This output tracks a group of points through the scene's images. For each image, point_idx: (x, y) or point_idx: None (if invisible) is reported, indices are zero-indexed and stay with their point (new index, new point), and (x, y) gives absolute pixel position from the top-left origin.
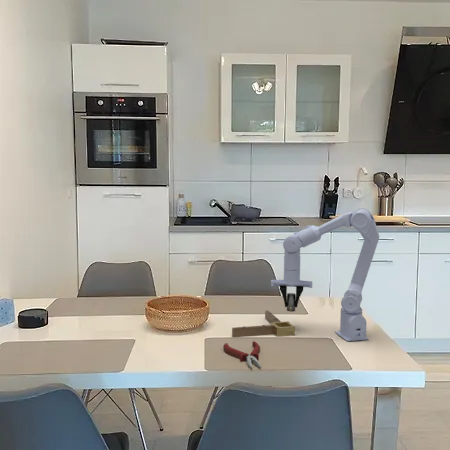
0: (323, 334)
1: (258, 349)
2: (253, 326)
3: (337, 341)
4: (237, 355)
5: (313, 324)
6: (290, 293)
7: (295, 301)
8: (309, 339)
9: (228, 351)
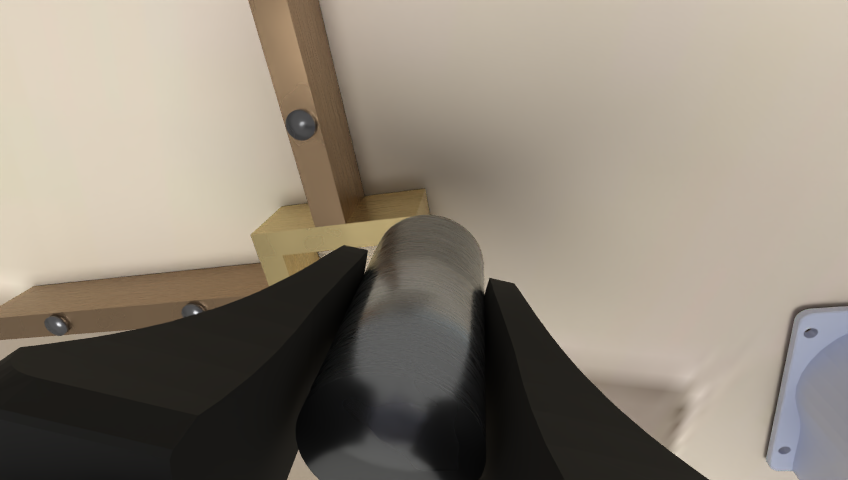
0: (676, 323)
1: None
2: (119, 314)
3: (700, 446)
4: None
5: (732, 42)
6: (375, 413)
7: (486, 349)
8: None
9: None
